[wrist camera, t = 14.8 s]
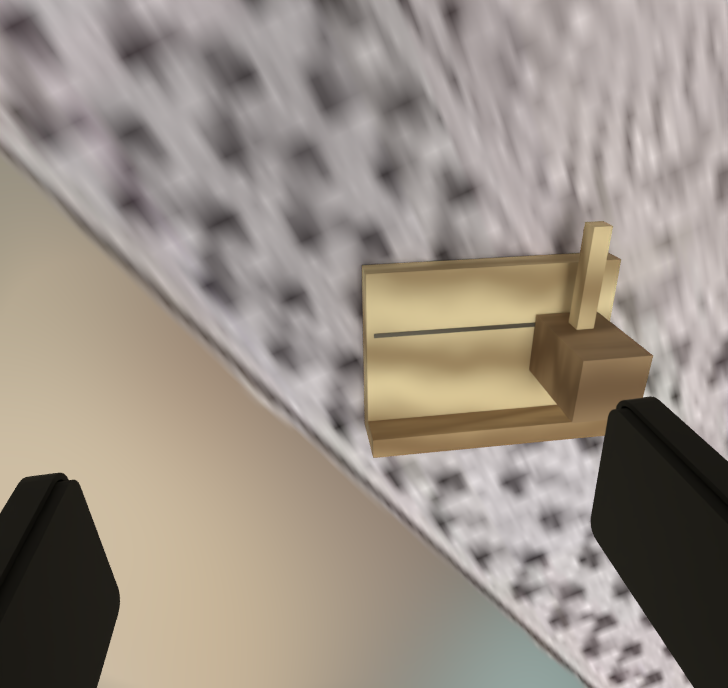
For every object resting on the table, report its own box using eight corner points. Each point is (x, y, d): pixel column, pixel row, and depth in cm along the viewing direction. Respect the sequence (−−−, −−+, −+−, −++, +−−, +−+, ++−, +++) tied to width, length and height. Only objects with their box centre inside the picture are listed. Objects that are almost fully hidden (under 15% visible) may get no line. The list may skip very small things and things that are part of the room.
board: (361, 265, 39) (371, 286, 35) (606, 251, 41) (641, 270, 37) (364, 423, 45) (373, 457, 41) (579, 404, 47) (608, 435, 43)
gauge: (549, 217, 37) (604, 248, 31) (614, 213, 38) (680, 244, 31) (528, 369, 42) (572, 423, 36) (585, 365, 43) (638, 416, 37)
